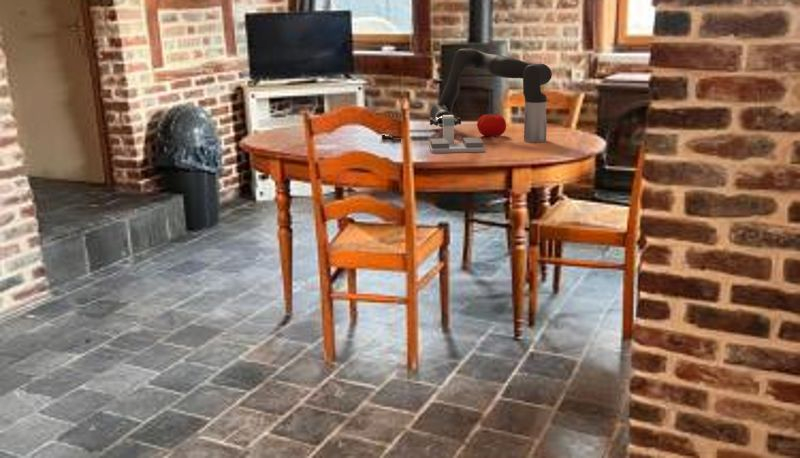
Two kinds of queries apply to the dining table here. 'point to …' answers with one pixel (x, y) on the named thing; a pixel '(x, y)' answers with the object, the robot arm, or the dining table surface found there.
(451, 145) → the rack board
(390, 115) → the ammunition clip
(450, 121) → the grey module
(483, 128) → the tomato
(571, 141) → the dining table surface
